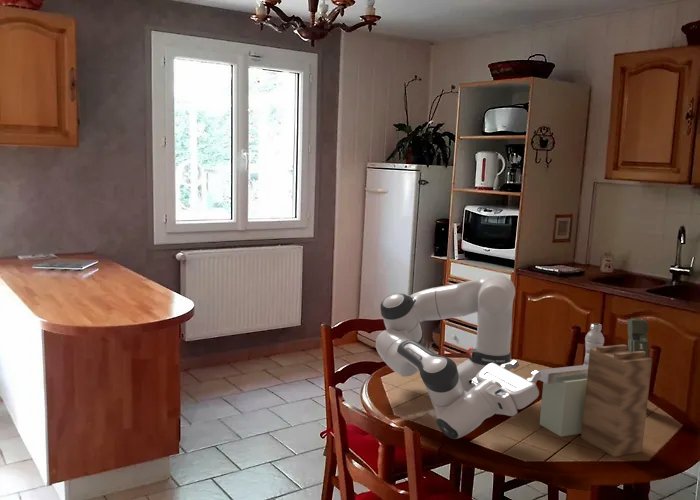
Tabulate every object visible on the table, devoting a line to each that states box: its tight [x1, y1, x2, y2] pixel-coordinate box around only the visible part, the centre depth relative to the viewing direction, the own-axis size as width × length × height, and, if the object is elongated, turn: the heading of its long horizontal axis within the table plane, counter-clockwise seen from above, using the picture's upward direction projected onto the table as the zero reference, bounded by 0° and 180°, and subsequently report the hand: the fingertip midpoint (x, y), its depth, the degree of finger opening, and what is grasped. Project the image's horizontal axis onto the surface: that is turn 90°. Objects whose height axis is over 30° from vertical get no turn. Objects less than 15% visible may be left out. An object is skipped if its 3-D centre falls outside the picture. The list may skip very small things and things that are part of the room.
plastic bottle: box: [582, 322, 605, 365], centre depth 230 cm, size 6×7×20 cm
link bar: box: [538, 364, 588, 384], centre depth 181 cm, size 19×4×3 cm, turn 113°
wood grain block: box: [580, 343, 653, 458], centre depth 172 cm, size 10×12×27 cm
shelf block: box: [539, 378, 587, 437], centre depth 183 cm, size 12×9×16 cm
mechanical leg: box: [626, 317, 649, 358], centre depth 202 cm, size 14×7×30 cm, turn 169°
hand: (527, 367), depth 174 cm, fingers open, 8 cm apart
